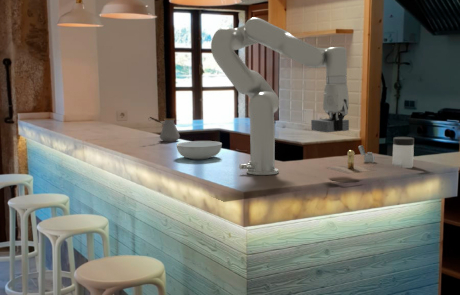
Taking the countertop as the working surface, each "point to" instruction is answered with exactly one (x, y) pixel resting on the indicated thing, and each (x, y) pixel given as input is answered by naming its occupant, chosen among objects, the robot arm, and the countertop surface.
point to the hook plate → (346, 170)
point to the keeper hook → (350, 159)
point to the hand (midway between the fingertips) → (336, 130)
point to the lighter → (367, 155)
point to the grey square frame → (327, 125)
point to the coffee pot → (168, 130)
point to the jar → (403, 151)
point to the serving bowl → (199, 149)
